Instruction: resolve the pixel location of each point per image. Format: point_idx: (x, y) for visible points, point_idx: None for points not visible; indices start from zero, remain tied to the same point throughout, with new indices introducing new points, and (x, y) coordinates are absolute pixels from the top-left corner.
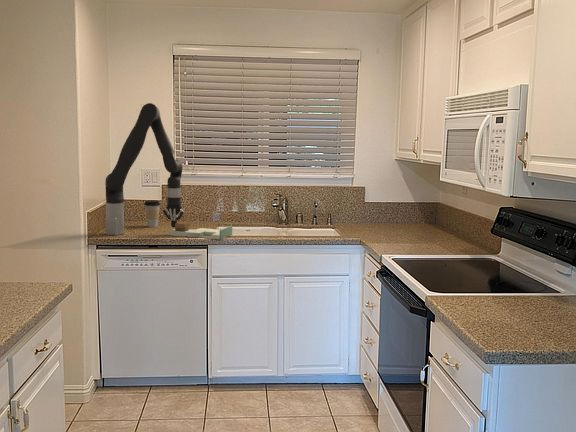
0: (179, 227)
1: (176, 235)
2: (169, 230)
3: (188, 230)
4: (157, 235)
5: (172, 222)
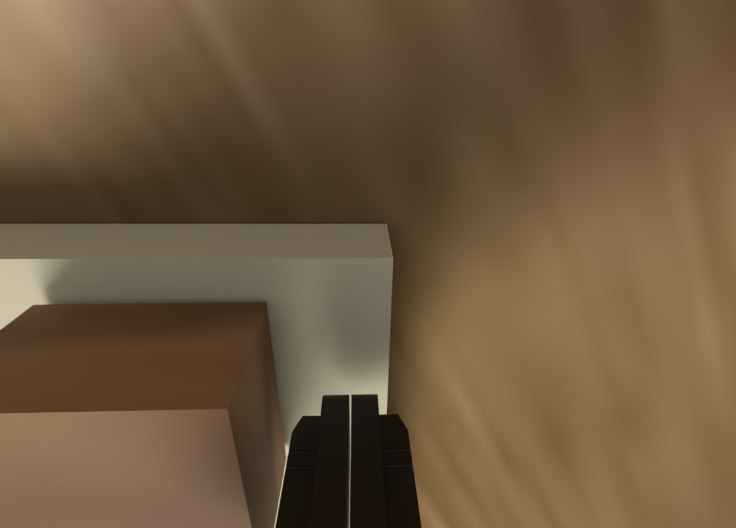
0: (134, 345)
1: (232, 225)
2: (387, 285)
3: None
4: (569, 124)
5: (366, 485)
